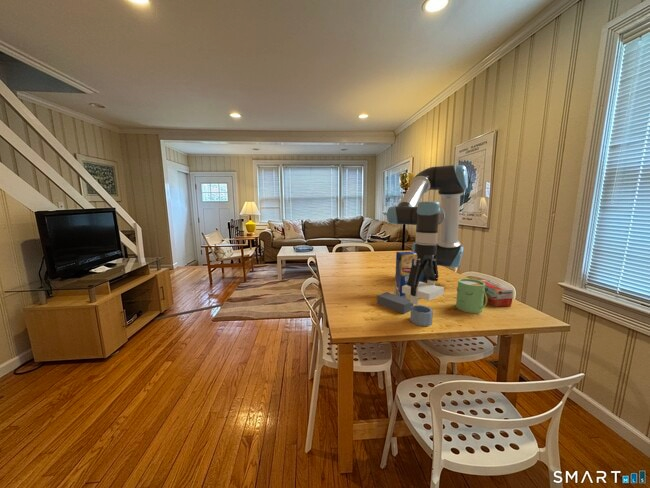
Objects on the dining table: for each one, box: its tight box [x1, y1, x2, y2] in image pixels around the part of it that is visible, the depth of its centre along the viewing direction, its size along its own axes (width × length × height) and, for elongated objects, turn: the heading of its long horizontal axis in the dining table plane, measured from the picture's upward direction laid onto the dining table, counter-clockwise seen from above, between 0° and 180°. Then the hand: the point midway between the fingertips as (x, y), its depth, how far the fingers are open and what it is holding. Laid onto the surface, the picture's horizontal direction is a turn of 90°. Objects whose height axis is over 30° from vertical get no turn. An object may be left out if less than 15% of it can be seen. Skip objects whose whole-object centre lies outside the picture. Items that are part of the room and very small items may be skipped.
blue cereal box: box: [394, 251, 423, 300], centre depth 123 cm, size 7×11×22 cm, turn 96°
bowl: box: [409, 304, 434, 327], centre depth 98 cm, size 8×8×5 cm
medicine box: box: [478, 279, 514, 308], centre depth 119 cm, size 15×8×8 cm, turn 8°
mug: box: [455, 278, 488, 314], centre depth 109 cm, size 13×10×12 cm
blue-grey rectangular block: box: [376, 291, 414, 315], centre depth 112 cm, size 7×14×4 cm, turn 40°
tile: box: [402, 281, 445, 302], centre depth 97 cm, size 11×11×2 cm
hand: (422, 299), depth 97 cm, fingers closed on tile, 11 cm apart
